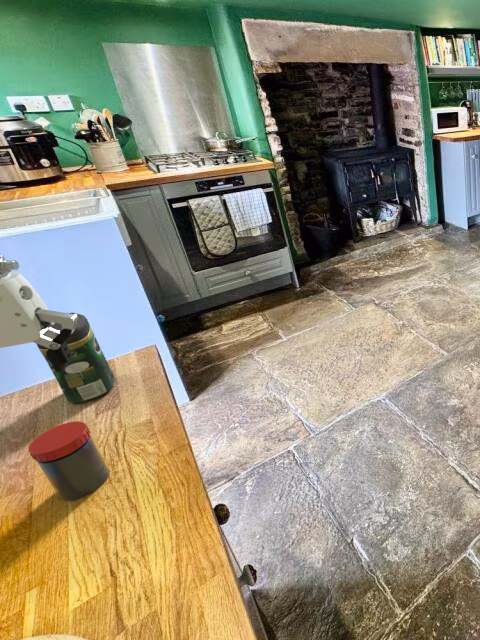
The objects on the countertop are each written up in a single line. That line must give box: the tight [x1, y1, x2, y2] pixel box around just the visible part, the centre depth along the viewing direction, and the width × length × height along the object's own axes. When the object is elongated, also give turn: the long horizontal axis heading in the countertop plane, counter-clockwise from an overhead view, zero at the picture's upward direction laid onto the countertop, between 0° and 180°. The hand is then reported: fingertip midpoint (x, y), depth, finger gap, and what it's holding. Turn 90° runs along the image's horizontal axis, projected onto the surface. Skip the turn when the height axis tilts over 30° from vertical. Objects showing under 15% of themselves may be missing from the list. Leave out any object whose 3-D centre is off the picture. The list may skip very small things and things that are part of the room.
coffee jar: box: [36, 312, 115, 404], centre depth 88 cm, size 10×8×19 cm
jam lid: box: [28, 420, 91, 462], centre depth 67 cm, size 7×7×2 cm
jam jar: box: [36, 434, 111, 502], centre depth 69 cm, size 6×6×11 cm
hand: (22, 374), depth 61 cm, fingers open, 9 cm apart
